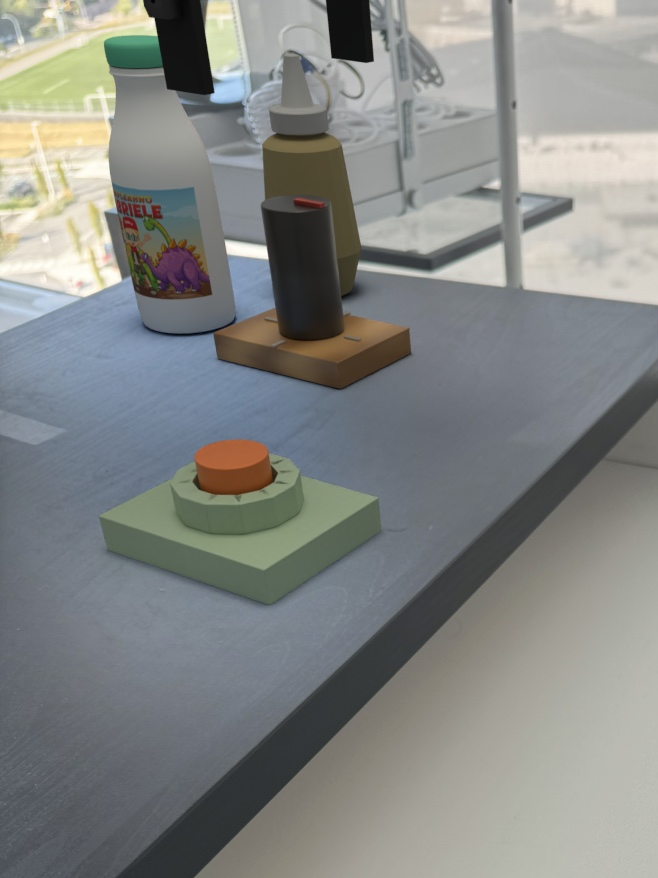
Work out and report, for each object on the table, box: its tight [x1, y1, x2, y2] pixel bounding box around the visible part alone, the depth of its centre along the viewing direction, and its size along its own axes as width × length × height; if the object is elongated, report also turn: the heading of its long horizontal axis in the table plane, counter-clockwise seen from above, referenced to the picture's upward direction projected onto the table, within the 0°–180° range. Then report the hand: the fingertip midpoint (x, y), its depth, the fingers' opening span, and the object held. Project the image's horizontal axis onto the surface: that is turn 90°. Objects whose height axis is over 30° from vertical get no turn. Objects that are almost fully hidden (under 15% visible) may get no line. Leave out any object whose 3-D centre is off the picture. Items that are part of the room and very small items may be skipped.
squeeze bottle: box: [261, 53, 362, 297], centre depth 98 cm, size 8×8×18 cm
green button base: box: [98, 452, 383, 606], centre depth 67 cm, size 12×10×4 cm
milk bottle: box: [103, 34, 237, 334], centre depth 91 cm, size 8×8×20 cm
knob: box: [260, 195, 345, 340], centre depth 87 cm, size 5×5×9 cm
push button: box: [193, 438, 273, 495], centre depth 65 cm, size 4×4×2 cm
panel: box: [212, 307, 412, 390], centre depth 91 cm, size 12×9×2 cm
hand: (277, 75), depth 67 cm, fingers open, 13 cm apart
